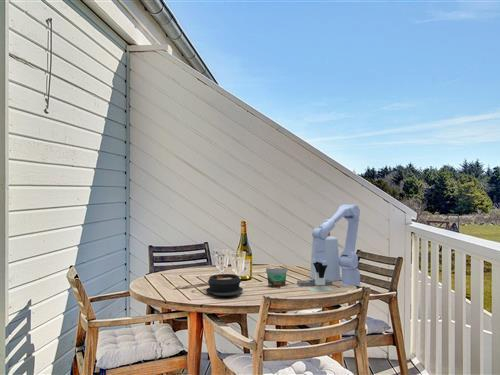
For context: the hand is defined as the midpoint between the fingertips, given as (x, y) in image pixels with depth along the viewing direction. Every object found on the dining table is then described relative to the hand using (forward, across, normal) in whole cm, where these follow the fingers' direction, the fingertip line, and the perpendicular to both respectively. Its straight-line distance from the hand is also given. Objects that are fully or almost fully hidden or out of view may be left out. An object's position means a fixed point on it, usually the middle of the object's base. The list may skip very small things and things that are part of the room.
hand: (320, 277), depth 203 cm
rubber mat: (+6, 0, 0) cm, 6 cm away
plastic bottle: (+7, -24, +11) cm, 27 cm away
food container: (+7, -11, -20) cm, 24 cm away
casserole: (+7, -1, -50) cm, 50 cm away
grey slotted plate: (+6, -10, 0) cm, 12 cm away
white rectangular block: (+4, 0, 0) cm, 4 cm away
